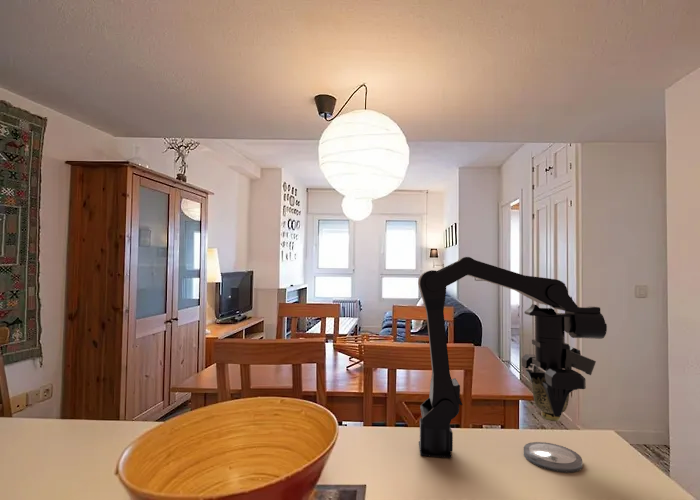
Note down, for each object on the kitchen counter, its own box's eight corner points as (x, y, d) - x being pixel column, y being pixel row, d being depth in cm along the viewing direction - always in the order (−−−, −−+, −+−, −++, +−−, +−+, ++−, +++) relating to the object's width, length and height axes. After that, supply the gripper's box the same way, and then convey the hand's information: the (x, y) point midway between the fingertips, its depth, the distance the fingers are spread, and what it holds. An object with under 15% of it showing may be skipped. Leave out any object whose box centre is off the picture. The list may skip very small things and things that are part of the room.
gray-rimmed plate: (534, 470, 76) (534, 463, 76) (516, 445, 87) (516, 440, 87) (593, 474, 74) (592, 467, 74) (567, 449, 85) (567, 443, 85)
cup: (576, 427, 77) (575, 387, 77) (537, 424, 78) (536, 384, 79) (563, 414, 84) (562, 378, 84) (527, 411, 85) (527, 375, 86)
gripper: (614, 346, 72) (616, 431, 71) (569, 332, 90) (570, 399, 89) (552, 343, 73) (553, 426, 72) (520, 330, 92) (521, 396, 91)
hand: (550, 410), depth 81 cm, fingers closed on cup, 6 cm apart
